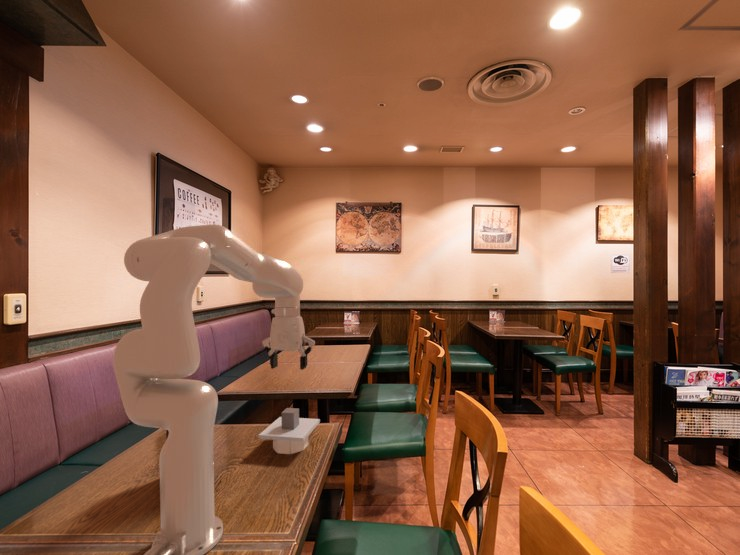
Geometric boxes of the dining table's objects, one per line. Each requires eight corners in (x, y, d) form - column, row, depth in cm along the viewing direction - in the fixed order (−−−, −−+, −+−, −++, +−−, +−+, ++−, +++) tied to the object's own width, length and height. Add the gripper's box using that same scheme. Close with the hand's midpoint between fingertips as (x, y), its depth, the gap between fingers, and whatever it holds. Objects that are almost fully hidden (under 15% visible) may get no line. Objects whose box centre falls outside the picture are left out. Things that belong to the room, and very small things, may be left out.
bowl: (299, 455, 104) (299, 438, 104) (268, 452, 106) (267, 435, 106) (312, 439, 114) (311, 424, 114) (283, 437, 116) (282, 422, 116)
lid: (303, 441, 101) (302, 420, 101) (258, 438, 104) (258, 417, 104) (319, 422, 115) (319, 403, 115) (279, 419, 118) (279, 401, 118)
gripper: (256, 314, 108) (257, 370, 108) (309, 313, 104) (310, 372, 104) (268, 311, 115) (269, 364, 115) (318, 311, 112) (319, 366, 112)
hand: (288, 368), depth 110 cm, fingers open, 9 cm apart
